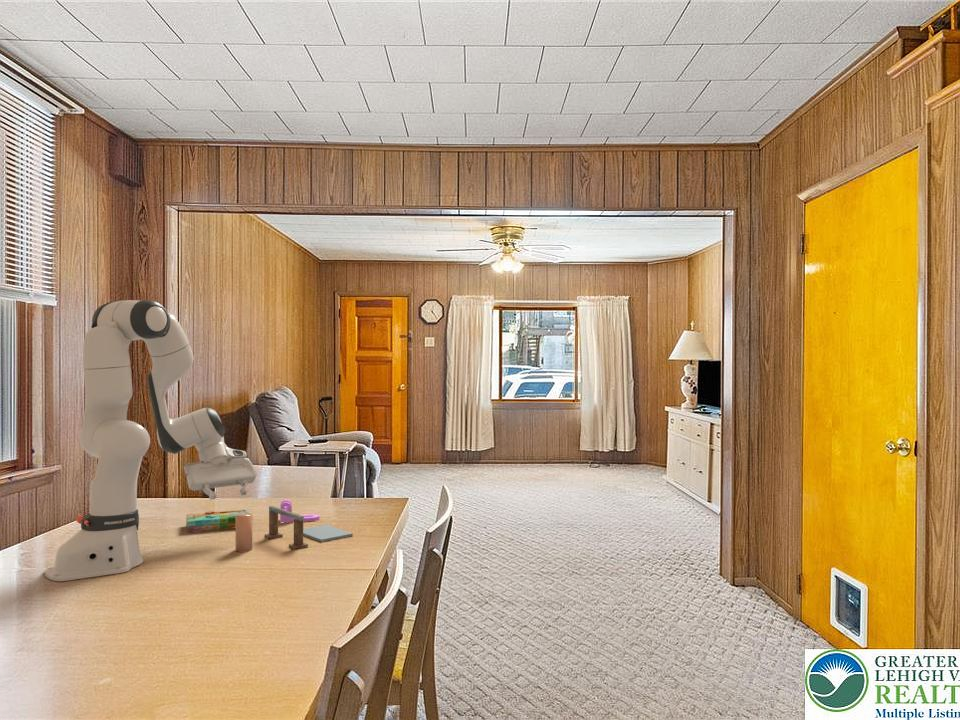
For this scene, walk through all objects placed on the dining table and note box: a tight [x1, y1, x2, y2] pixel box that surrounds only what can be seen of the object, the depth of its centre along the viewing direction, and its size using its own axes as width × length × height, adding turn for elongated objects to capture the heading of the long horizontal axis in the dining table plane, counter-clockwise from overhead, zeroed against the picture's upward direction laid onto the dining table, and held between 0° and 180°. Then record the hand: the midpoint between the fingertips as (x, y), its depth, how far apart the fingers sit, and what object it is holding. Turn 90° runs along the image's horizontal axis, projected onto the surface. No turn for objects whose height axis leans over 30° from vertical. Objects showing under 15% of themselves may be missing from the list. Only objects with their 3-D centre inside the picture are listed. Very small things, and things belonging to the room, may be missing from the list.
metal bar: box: [268, 505, 304, 521], centre depth 206 cm, size 1×20×1 cm, turn 43°
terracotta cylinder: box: [234, 513, 253, 553], centre depth 197 cm, size 5×5×10 cm
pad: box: [303, 524, 354, 543], centre depth 215 cm, size 11×16×1 cm
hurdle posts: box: [264, 510, 309, 550], centre depth 206 cm, size 4×20×8 cm, turn 43°
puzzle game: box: [185, 509, 254, 533], centre depth 225 cm, size 12×5×20 cm
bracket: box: [279, 499, 320, 522], centre depth 234 cm, size 13×6×7 cm, turn 106°
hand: (229, 496), depth 205 cm, fingers open, 8 cm apart
